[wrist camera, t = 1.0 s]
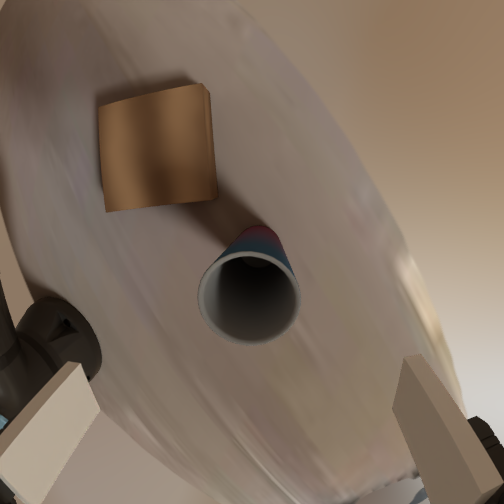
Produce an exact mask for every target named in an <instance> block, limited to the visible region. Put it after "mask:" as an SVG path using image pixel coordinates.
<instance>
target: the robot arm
mask: <svg viewBox="0 0 504 504" xmlns="http://www.w3.org/2000/svg"><path fill="white" fill-rule="evenodd" d="M101 363H102V355H101V349H100V345H99V342H98V340H97V337H96V335H95V333H94V331H93V330H92V328H91V327H90V325H89V324H88V322H87V321H86V320H85V318H84V317H83V316H82V315H81V314H80V313H79V312H78V311H77V310H76V309H75V308H73V307H72V306H71V305H69V304H68V303H66V302H65V301H63V300H60V299H58V298H54V297H45V298H42V299H40V300H38V301H37V302H35V303H34V304H32V305H31V306H30V307H29V308H28V309H27V311H26V313H25V314H24V316H23V317H22V319H21V320H20V322H19V323H18V325H17V327H16V328H15V327H14V325H13V321H12V319H11V315H10V313H9V309H8V306H7V303H6V299H5V296H4V292H3V288H2V285H1V280H0V504H17V503H16V500H15V499H14V498H13V497H14V496H15V495H16V496H17V497H18V498H19V499H20V500H21V501H22V502H23V503H25V504H42V502H43V500H44V499H45V497H46V495H47V494H48V492H49V490H50V489H51V487H52V485H53V484H54V482H55V480H56V479H57V477H58V475H59V474H60V472H61V471H62V469H63V467H64V466H65V464H66V463H67V461H68V459H69V458H70V456H71V454H72V453H73V451H74V450H75V448H76V447H77V445H78V443H79V442H80V440H81V439H82V437H83V436H84V434H85V432H86V431H87V430H88V428H89V427H90V425H91V423H92V422H93V420H94V419H95V417H96V416H97V414H98V413H99V411H100V408H99V406H98V403H97V401H96V399H95V397H94V395H93V392H92V390H91V388H90V385H89V382H90V381H91V380H92V379H93V378H94V376H95V375H96V374H97V373H98V371H99V370H100V367H101ZM392 409H393V412H394V414H395V416H396V419H397V421H398V423H399V425H400V428H401V430H402V432H403V435H404V437H405V440H406V442H407V444H408V447H409V449H410V452H411V454H412V457H413V459H414V461H415V464H416V466H417V469H418V472H419V474H420V477H421V479H422V482H423V484H424V487H425V490H426V492H427V495H428V498H429V501H430V503H431V504H504V448H503V446H502V444H500V441H499V440H498V438H497V437H496V436H495V435H494V432H493V431H492V429H491V428H490V426H489V425H488V424H487V423H486V422H485V421H483V420H482V419H480V418H479V417H477V416H475V417H473V418H470V419H468V420H466V418H465V417H464V415H463V413H462V412H461V410H460V409H459V407H458V406H457V404H456V403H455V401H454V400H453V398H452V397H451V396H450V394H449V393H448V391H447V390H446V388H445V387H444V385H443V384H442V383H441V381H440V380H439V378H438V377H437V375H436V374H435V373H434V371H433V370H432V368H431V367H430V366H429V364H428V363H427V361H426V360H425V359H424V357H423V356H422V355H421V354H418V355H413V356H408V357H404V359H403V364H402V369H401V374H400V378H399V383H398V387H397V391H396V395H395V399H394V403H393V407H392Z"/></svg>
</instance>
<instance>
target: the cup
mask: <svg viewBox="0 0 504 504" xmlns="http://www.w3.org/2000/svg"><path fill="white" fill-rule="evenodd" d="M198 305H199V309H200V312H201V315H202V317H203V319H204V320H205V322H206V324H207V325H208V326H209V327H210V328H211V329H212V331H214V332H215V333H216V334H217V335H219V336H220V337H222V338H224V339H225V340H227V341H230V342H233V343H235V344H240V345H246V346H256V345H262V344H266V343H269V342H272V341H274V340H276V339H278V338H279V337H281V336H282V335H284V334H285V333H286V332H287V331H288V330H289V329H290V328H291V326H292V325H293V324H294V322H295V320H296V318H297V316H298V314H299V310H300V306H301V294H300V289H299V285H298V283H297V280H296V278H295V276H294V273H293V271H292V268H291V266H290V263H289V261H288V259H287V256H286V254H285V251H284V249H283V247H282V244H281V242H280V240H279V237H278V236H277V234H276V233H275V232H274V231H273V230H271V229H269V228H267V227H265V226H253V227H250V228H248V229H246V230H245V231H243V232H242V233H241V235H240V236H239V237H238V238H237V239H236V240H235V241H234V242H233V243H232V244H231V245H230V246H229V247H228V248H227V249H226V250H225V251H224V252H223V253H222V254H221V255H220V256H219V258H218V259H217V260H216V261H215V262H214V263H213V264H212V265H211V266H210V267H209V268H208V269H207V270H206V272H205V274H204V275H203V277H202V279H201V282H200V285H199V288H198Z"/></svg>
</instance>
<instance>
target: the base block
mask: <svg viewBox="0 0 504 504" xmlns="http://www.w3.org/2000/svg"><path fill="white" fill-rule="evenodd" d="M98 117H99V144H100V160H101V172H102V183H103V193H104V201H105V210H106V212H113V211H120V210H128V209H135V208H143V207H151V206H160V205H168V204H177V203H187V202H197V201H207V200H213V199H215V198H217V197H218V189H217V178H216V166H215V155H214V142H213V129H212V116H211V102H210V93H209V91H208V90H207V89H206V88H205V86H204V85H203V84H202V83H200V84H194V85H188V86H182V87H177V88H172V89H167V90H162V91H158V92H153V93H149V94H144V95H140V96H136V97H132V98H129V99H125V100H121V101H118V102H114V103H111V104H107V105H104V106H101V107H98Z"/></svg>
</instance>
